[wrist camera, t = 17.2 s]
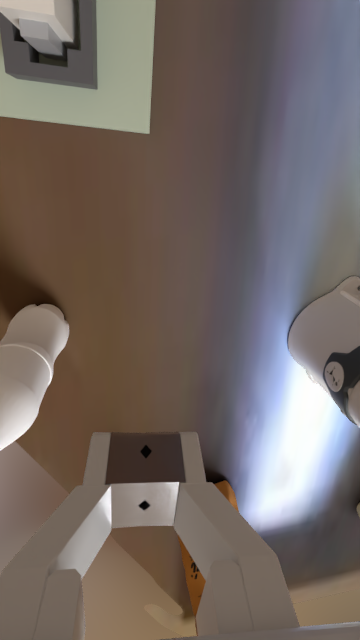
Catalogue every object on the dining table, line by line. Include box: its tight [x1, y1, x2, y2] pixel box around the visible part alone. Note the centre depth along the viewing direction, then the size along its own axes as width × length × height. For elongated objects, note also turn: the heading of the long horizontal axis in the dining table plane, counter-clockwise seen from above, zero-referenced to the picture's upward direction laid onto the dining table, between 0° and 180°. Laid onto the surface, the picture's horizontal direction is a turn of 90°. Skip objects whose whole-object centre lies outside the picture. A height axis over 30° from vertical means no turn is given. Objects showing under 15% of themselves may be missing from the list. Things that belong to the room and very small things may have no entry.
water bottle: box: [0, 304, 69, 450], centre depth 34 cm, size 7×7×25 cm
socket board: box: [0, 0, 156, 134], centre depth 28 cm, size 18×16×4 cm
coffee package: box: [178, 481, 239, 636], centre depth 57 cm, size 10×12×22 cm
